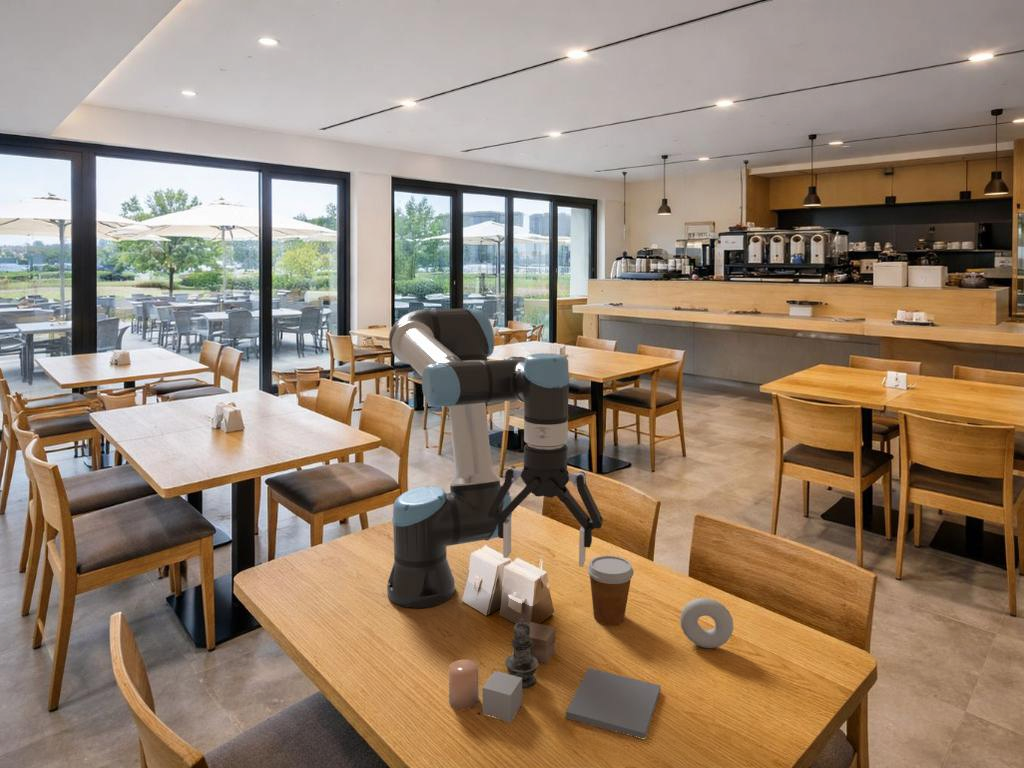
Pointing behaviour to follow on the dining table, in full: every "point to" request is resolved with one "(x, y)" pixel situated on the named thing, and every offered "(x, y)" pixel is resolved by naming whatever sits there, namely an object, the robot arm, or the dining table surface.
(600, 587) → the disposable coffee cup
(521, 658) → the salt shaker
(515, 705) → the grey block
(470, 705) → the peach rounded capsule
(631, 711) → the slate board
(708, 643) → the donut
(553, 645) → the walnut block
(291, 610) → the dining table surface
